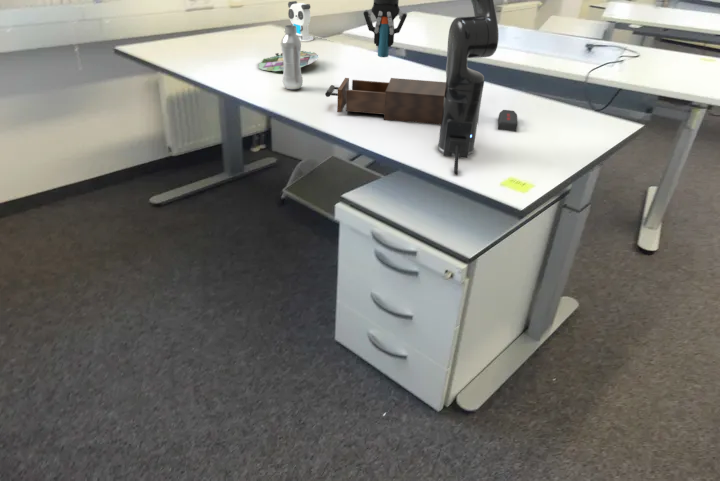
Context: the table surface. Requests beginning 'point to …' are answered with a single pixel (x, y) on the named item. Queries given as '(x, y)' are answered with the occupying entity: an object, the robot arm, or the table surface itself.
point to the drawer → (360, 96)
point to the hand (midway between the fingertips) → (383, 45)
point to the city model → (277, 61)
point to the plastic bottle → (291, 58)
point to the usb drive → (507, 120)
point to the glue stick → (383, 38)
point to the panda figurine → (300, 19)
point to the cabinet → (414, 101)
